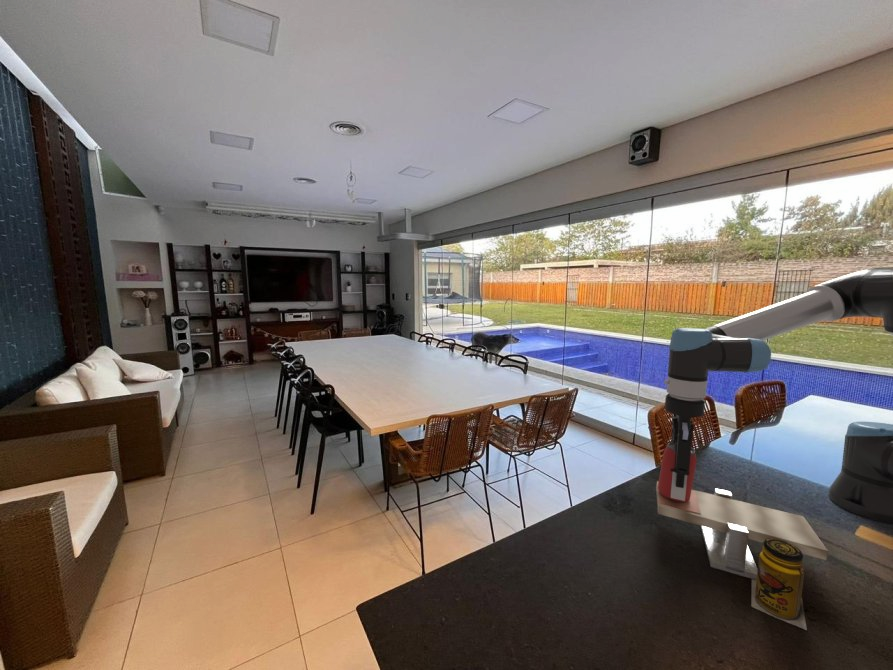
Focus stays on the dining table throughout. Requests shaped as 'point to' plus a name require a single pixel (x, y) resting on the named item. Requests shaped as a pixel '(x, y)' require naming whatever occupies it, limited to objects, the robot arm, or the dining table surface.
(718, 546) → the pivot stand
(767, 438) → the dining table surface
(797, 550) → the condiment
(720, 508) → the balance beam
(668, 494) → the beer can
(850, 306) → the robot arm
